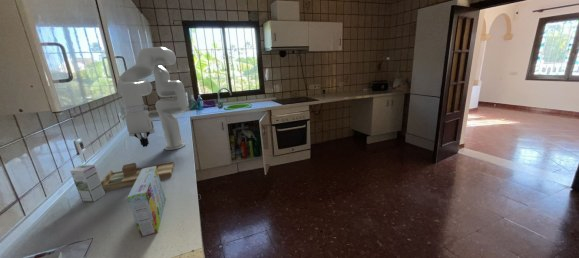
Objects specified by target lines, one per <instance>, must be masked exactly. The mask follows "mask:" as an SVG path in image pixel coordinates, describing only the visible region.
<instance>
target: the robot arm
mask: <svg viewBox="0 0 579 258" xmlns="http://www.w3.org/2000/svg"><path fill="white" fill-rule="evenodd" d="M176 63H177V56H176V54H175V53H174V51H173V50H171V49H168V48H167V47H164V46H155V47H154V46H153V47H150V46H149V47H143V48H142V49H140V51H139V52H138V56H137V59H136V62H135V63H134V65H133V66H131V67H130V68H128V69H126V70H125V71H124V72H123V73H122V74H120V77H119V79H118V82H117V85H116V86H117V87H116V91H117V93H118V94H119V95H120V96H121V97H122V101H123V104H124V108H125V111H126V113H125V124H126V128H127V133H128V136H129V137H135V138H137V139H138V140H139V142H140V145H141V146H142V148H145V147H148V145H149V143H150V142H149V138H148V137H149V135H152V134H154V133H155V129H154V123H153V119H152V117H151V114H150V112H149V111H148V109H149V105H146V104H145V103H144V98H143V97H144V96H145V97H146V96H149V95H151V93H152V92H153V85H152V84H151V82H150V81H148V80H147V79H146V78H148V77H150V76H152V75H153V76H154V82H155V91H156V94H157V95H158V97H161V98H162V99H158V100H157V101H156V103H155V105H154V106H155V109H156V111H157V114H158V116H159V120H160V123H161V124H160V125H161V128H162V132H163V136H164V139H165V144H166V145H164V147H163V148H164V150H166V151H173V150H179V149H182V148H183V147H186V142H185V141H183V139H182V134H181V130H180V129H181V128H180V125H179V120H178V118H177V117H176V116H175V115H174V114H182V113H185V112H186V111H187V109H188V106H187V97H186V91H185V86H184V84H183V81H180V80H171V75H170V73H169V71H168V70H167V68H165V67H164V66H172V65H175V64H176ZM145 79H146V80H145ZM163 97H164V99H163ZM166 97H167V98H166ZM169 97H173V98H169ZM142 134H143V135H142Z"/></svg>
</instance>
